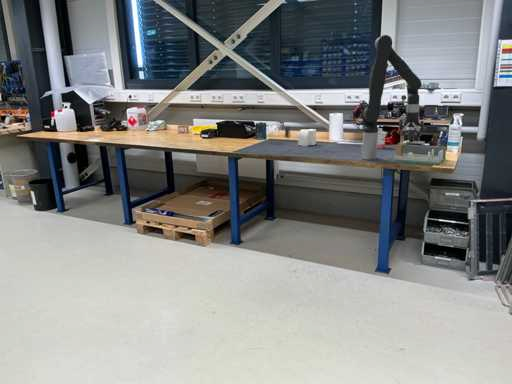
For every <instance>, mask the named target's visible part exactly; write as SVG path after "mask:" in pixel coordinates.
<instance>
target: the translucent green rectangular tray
mask: <svg viewBox="0 0 512 384" xmlns="http://www.w3.org/2000/svg"><path fill="white" fill-rule="evenodd" d="M409 152H411V153H413V155H414V156H413V157H407V154H408V153H409ZM446 152H447V146H437V145H434V146H433V145H421V144H417V145H416V144H406V145H404V146H403V156H396V155H394V159H393V161H394V162H395V163H404V162H408V163H407V164H416V163H420V164H419V165H428V164H429V166H431V165H432V166H440V165H441V164H442V163H443V162H444V161H445V160H446V154H447V153H446Z"/></svg>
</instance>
